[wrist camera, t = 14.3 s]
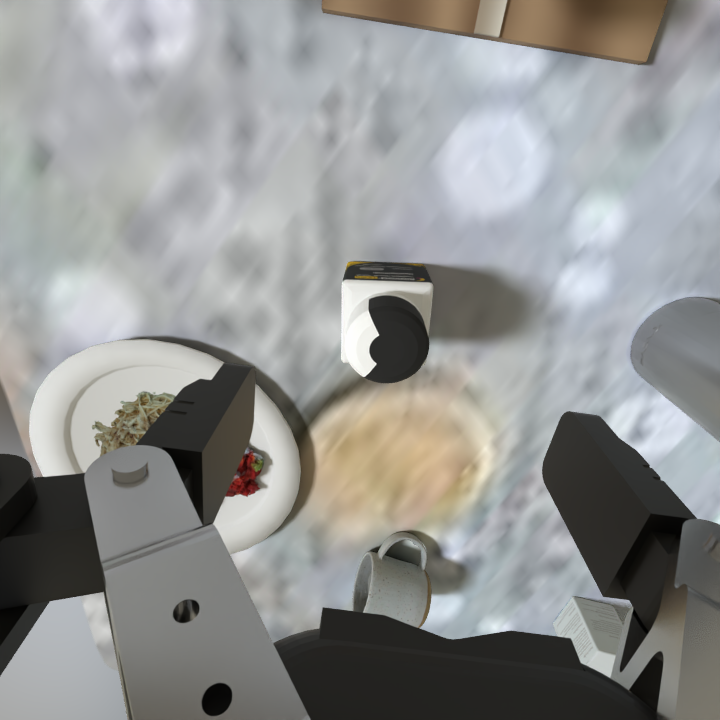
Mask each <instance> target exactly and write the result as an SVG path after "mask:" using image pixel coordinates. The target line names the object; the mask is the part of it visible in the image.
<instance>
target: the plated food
mask: <svg viewBox="0 0 720 720" xmlns="http://www.w3.org/2000/svg"><path fill="white" fill-rule="evenodd" d="M224 363H225V362H223V361H221V360H219V359H217V358H215V357H213V356H211V355H209V354H207V353H204V352H201V351H198V350H195V349H192V348H189V347H186V346H183V345H180V344H176V343H170V342H163V341H157V340H150V339H136V340H117V341H112V342H108V343H103V344H99V345H95V346H91V347H89V348H87V349H85V350H83V351H81V352H79V353H77V354H75V355H73V356H70V357H69V358H67V359H66V360H65V361H64V362H62V363H61V364H60V365H59V366H58V367H56V368H55V369H54V370H53V371H52V372H50V373H49V375H48V376H47V378H46V379H45V380H44V382H43V383H42V385H41V386H40V388H39V389H38V391H37V393H36V396H35V399H34V402H33V405H32V408H31V411H30V426H29V435H30V440H31V445H32V450H33V455H34V457H35V459H36V462H37V464H38V466H39V468H40V471H41V473H42V475H43V477H48V476H59V475H71V474H80V473H86V471H87V469H88V467H89V466H90V465H91V464H92V463H93V462H94V461H95V460H96V459H97V458H99V457H101V456H102V455H104V454H106V453H108V452H110V451H113V450H115V449H119V448H122V447H127V446H135V445H136V444H137V442H138V441H139V440H140V439H141V438H142V436H143V435H144V434H145V433H146V432H147V430H148V429H149V428H150V427H151V426H152V424H153V423H154V422H155V421H156V420H157V418H158V417H159V416H160V415H161V414H162V412H165V409H166V408H167V406H168V405H169V404H170V403H171V402H173V399H174V398H175V397H176V396H177V394H178V393H179V392H180V391H181V390H182V388H183V387H185V386H187V385H189V384H191V383H193V382H195V381H197V380H198V379H207V380H212V378H213V377H214V376H215V374H216V373H217V372H218V370H219V369H220V367H221V366H222V365H223V364H224ZM300 476H301V466H300V458H299V450H298V447H297V444H296V441H295V439H294V436H293V433H292V430H291V428H290V426H289V425H288V423H287V421H286V420H285V418H284V416H283V415H282V413H281V412H280V410H279V408H278V407H277V406H276V404H275V403H274V402H273V401H272V400H271V399H270V398H269V397H268V396H267V395H266V394H265V393H264V391H263V390H262V389H261V388H260V387H259V386H258V385H257V384H255V406H254V423H253V430H252V434H251V438H250V441H249V444H248V446H247V448H246V451H245V453H244V455H243V457H242V460H241V462H240V464H239V466H238V469H237V471H236V473H235V475H234V478H233V480H232V482H231V484H230V487H229V489H228V491H227V494H226V496H225V498H224V500H223V503H222V505H221V507H220V509H219V512H218V514H217V516H216V518H215V521H214V523H213V524H214V526H215V527H216V528H217V530H218V532H219V534H220V536H221V538H222V540H223V542H224V544H225V546H226V548H227V550H228V552H229V554H233V553H236V552H239V551H243V550H246V549H248V548H250V547H252V546H254V545H255V544H257V543H259V542H261V541H263V540H265V539H266V538H267V537H268V536H269V535H270V534H272V533H273V532H274V531H275V530H276V529H277V528H279V527H280V525H281V524H282V523H283V521H284V520H285V519H286V517H287V516H288V514H289V513H290V512H291V510H292V507H293V505H294V502H295V500H296V497H297V495H298V491H299V484H300Z"/></svg>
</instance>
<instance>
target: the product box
mask: <svg viewBox="0 0 720 720" xmlns="http://www.w3.org/2000/svg"><path fill="white" fill-rule="evenodd" d="M553 626H554V628H555V631H556V633H557V636H558V637H565V638H571V640H572V642H573V645H574V647H575V650H576V652H577V655H578V657H579V659H580V662H581V663H582V664H584V665H587V666H589V667H591V668H593V669H595V670H597V671H599V672H601V673H603V674H604V675H606V676H608V677H609V678H610V677H611V673H612V669H613V665H614V661H615V657H616V653H617V649H618V645H619V641H620V637H621V633H622V629H623V624H622V622H621V620H620V618H619V616H618V614H617V612H616V610H615V609H614V607H613V606H612V605H609V604H605V603H600V602H596V601H591V600H587V599H583V598H579V597H575V596H573V597H572V598H571V599H570V601H569V602H568V604H567V605H566V606H565V608H564V609H563V610H562V612H561V613H560V615H559V616H558V617H557V619H556V620H555V621H554V623H553Z"/></svg>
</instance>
